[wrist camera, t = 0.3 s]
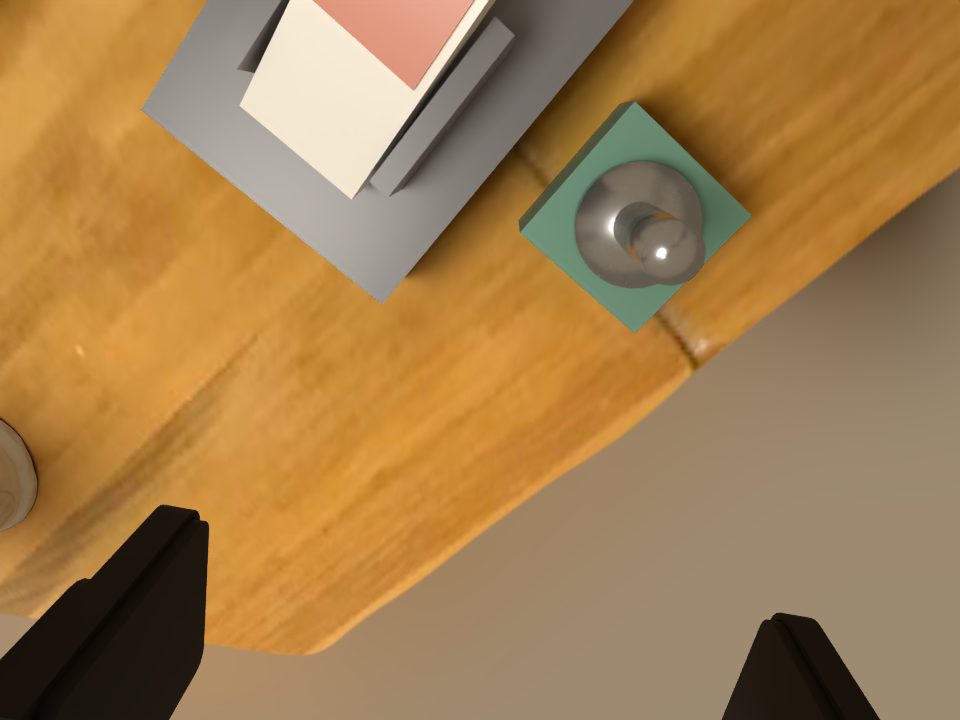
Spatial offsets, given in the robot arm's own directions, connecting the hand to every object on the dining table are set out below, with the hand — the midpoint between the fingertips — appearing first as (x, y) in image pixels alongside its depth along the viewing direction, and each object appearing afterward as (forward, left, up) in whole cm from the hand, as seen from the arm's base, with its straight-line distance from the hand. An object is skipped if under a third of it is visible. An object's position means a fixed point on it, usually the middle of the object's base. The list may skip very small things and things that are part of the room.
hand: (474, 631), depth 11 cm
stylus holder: (-7, +3, -28) cm, 29 cm away
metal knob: (-7, +3, -28) cm, 29 cm away
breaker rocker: (-5, -11, -19) cm, 23 cm away
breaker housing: (-5, -11, -28) cm, 31 cm away
